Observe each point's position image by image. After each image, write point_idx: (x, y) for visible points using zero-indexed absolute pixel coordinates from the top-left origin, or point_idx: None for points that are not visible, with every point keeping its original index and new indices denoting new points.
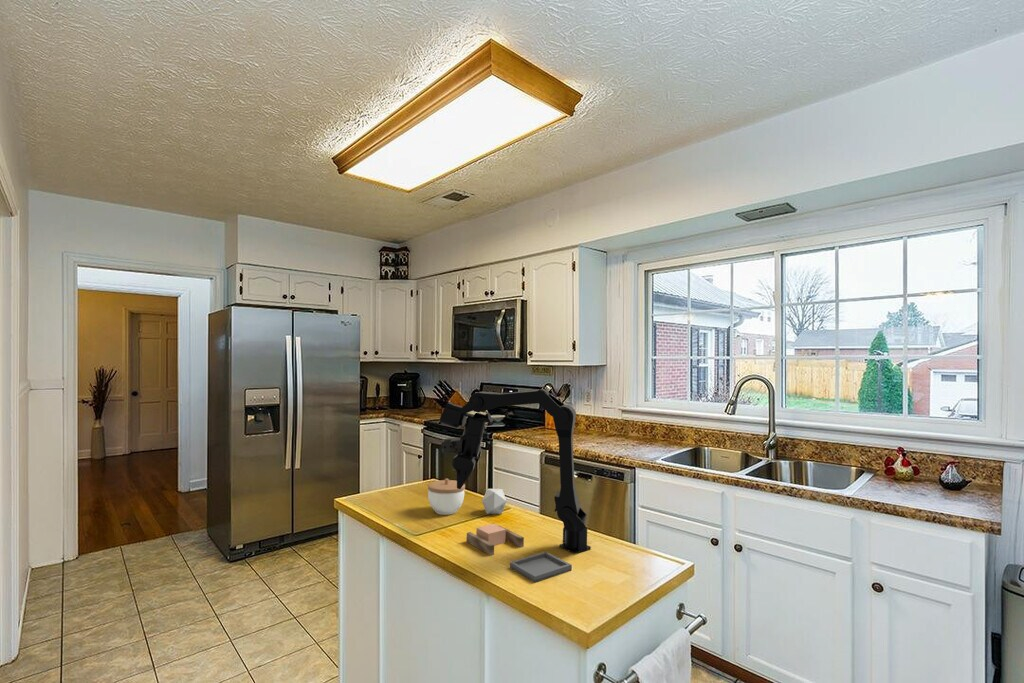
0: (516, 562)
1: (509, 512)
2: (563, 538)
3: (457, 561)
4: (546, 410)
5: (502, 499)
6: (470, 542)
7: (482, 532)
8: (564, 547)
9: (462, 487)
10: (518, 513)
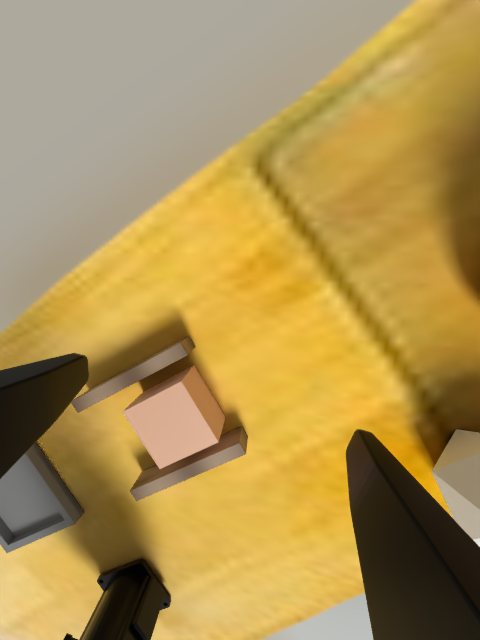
0: None
1: None
2: (144, 589)
3: (50, 301)
4: None
5: (470, 532)
6: (168, 347)
7: (153, 394)
8: (123, 568)
9: None
10: None
